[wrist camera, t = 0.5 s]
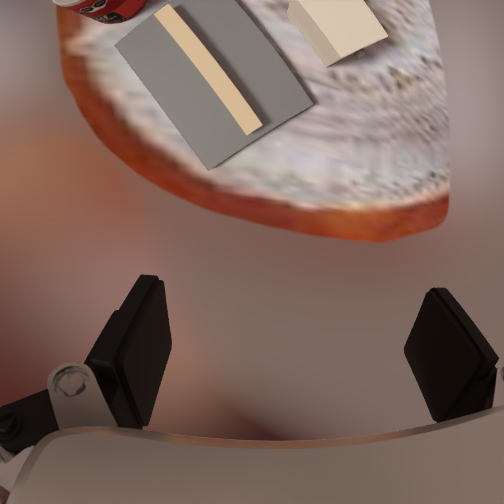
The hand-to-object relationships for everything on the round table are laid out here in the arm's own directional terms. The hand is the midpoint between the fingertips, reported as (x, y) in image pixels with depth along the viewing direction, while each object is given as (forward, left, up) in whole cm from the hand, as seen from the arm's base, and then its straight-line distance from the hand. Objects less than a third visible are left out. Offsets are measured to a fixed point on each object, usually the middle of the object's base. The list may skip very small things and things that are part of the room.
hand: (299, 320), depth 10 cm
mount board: (-1, -14, -28) cm, 31 cm away
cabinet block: (-15, -11, -28) cm, 33 cm away
